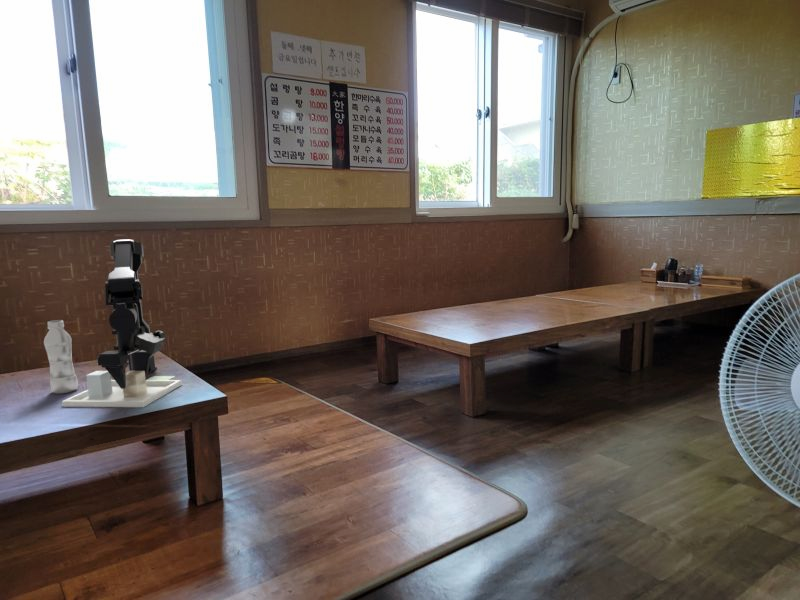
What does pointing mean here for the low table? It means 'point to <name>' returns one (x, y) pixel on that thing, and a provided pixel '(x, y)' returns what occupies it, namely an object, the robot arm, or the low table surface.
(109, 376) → the plain block
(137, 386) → the labelled block
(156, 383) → the tray
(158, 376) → the mat
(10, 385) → the low table surface
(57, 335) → the plastic bottle
